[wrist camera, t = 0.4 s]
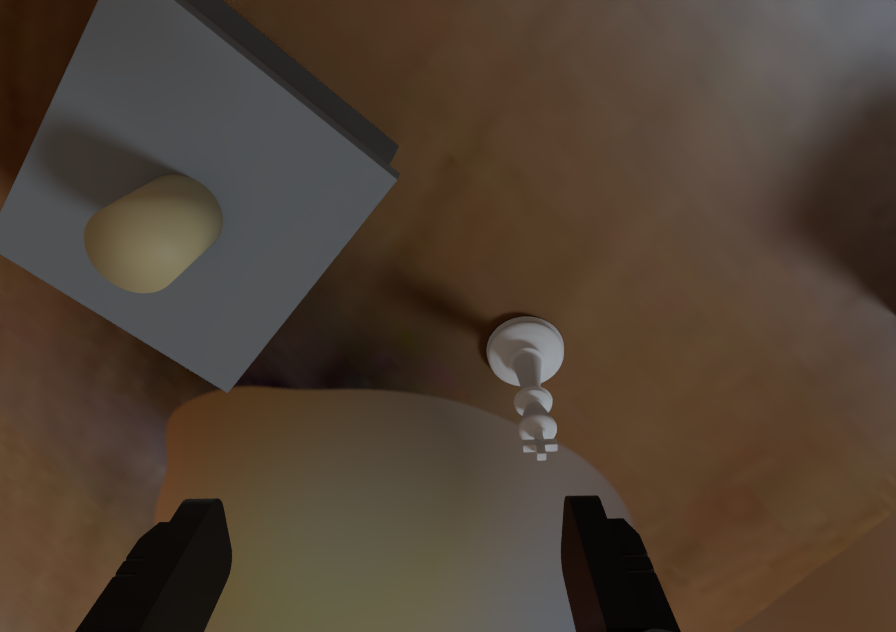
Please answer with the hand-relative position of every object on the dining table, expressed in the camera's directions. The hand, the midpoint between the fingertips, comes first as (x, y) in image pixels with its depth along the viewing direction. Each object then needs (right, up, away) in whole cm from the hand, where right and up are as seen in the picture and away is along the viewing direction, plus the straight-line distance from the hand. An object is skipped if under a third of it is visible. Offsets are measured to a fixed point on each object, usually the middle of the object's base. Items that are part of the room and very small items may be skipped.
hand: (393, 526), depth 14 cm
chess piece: (+6, +3, +24) cm, 25 cm away
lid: (-11, +10, +14) cm, 20 cm away
